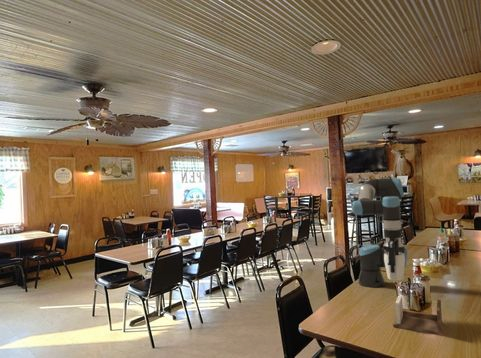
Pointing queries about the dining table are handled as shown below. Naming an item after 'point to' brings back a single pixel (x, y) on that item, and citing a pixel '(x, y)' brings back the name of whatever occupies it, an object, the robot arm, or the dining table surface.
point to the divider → (399, 309)
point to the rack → (422, 321)
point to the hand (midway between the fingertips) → (395, 276)
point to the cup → (399, 265)
